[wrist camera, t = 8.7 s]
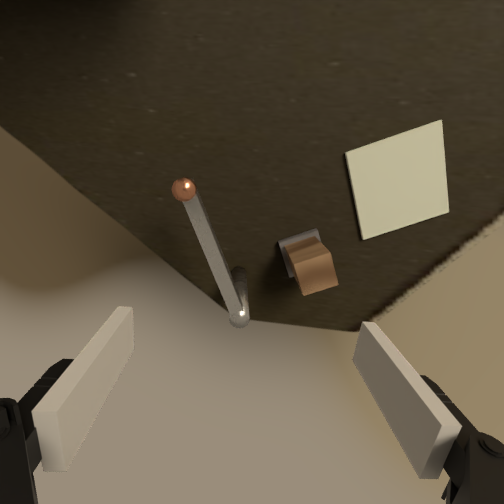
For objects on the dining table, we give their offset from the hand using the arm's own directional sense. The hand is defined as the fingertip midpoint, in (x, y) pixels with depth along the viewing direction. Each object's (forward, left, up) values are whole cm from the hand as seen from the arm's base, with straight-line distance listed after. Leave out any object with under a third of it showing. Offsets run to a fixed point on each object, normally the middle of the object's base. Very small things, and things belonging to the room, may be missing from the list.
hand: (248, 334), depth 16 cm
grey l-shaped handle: (0, -3, -29) cm, 29 cm away
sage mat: (+2, +25, -29) cm, 38 cm away
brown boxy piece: (+8, +8, -29) cm, 31 cm away
